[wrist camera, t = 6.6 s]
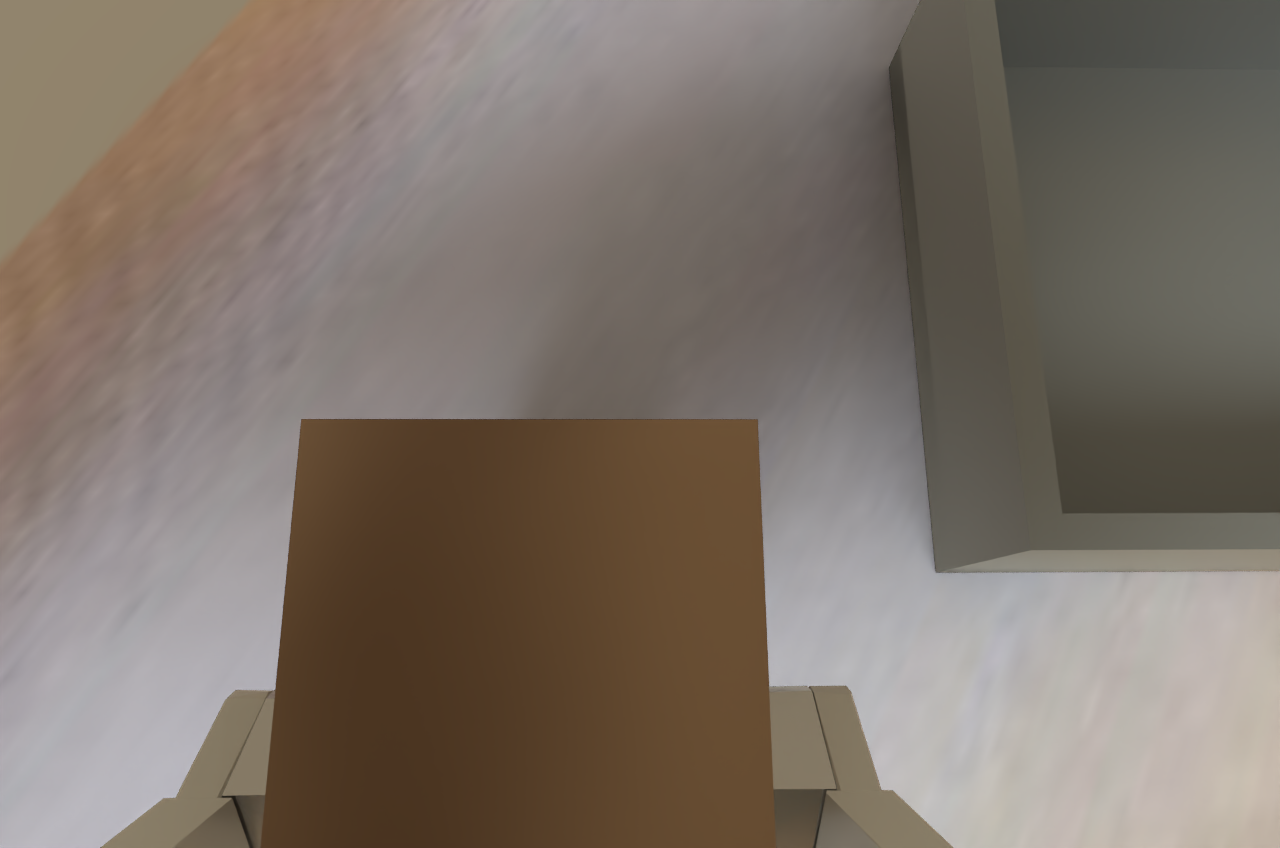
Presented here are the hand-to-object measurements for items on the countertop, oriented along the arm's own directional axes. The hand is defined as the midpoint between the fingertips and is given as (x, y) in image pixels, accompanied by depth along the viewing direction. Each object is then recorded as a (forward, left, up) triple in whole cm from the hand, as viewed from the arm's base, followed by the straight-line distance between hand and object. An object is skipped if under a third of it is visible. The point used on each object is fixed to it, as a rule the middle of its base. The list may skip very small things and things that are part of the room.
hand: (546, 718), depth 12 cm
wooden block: (0, -1, -9) cm, 9 cm away
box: (-16, -10, -9) cm, 21 cm away
